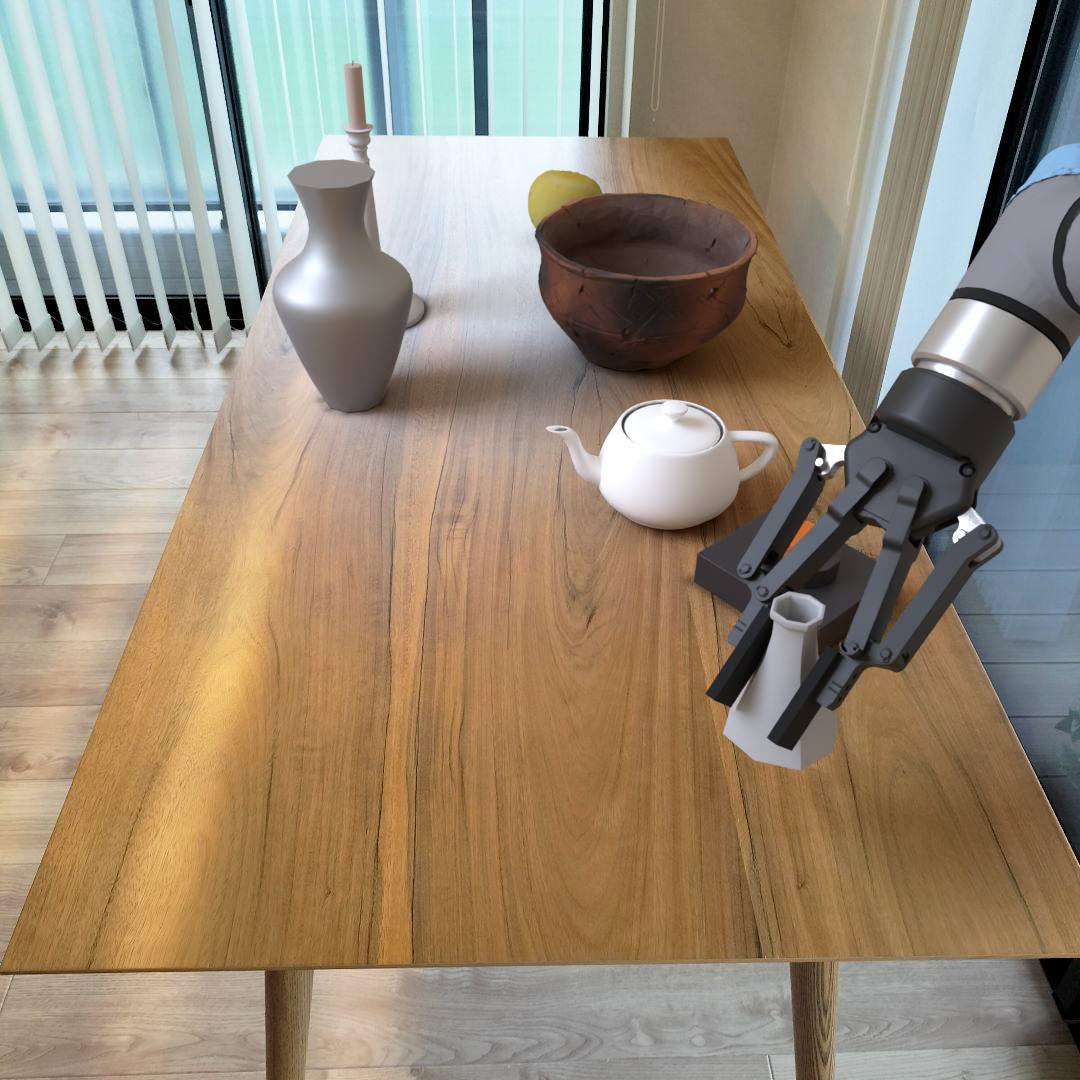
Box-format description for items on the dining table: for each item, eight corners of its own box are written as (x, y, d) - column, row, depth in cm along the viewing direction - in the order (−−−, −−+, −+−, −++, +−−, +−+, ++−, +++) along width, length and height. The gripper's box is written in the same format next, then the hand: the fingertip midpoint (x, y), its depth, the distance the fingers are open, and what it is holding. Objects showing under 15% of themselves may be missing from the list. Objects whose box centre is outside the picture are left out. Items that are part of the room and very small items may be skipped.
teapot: (753, 460, 111) (768, 367, 104) (784, 542, 100) (804, 443, 94) (540, 464, 110) (542, 370, 103) (548, 546, 99) (551, 447, 92)
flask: (703, 738, 69) (713, 616, 63) (757, 677, 74) (771, 558, 68) (807, 789, 65) (828, 664, 60) (857, 721, 70) (881, 599, 64)
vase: (403, 436, 114) (386, 203, 98) (270, 425, 115) (233, 193, 100) (431, 370, 125) (419, 152, 110) (309, 361, 126) (282, 144, 111)
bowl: (713, 421, 117) (731, 291, 108) (502, 379, 124) (502, 253, 114) (758, 325, 136) (777, 207, 127) (573, 293, 142) (577, 179, 133)
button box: (890, 601, 94) (902, 555, 91) (813, 658, 88) (824, 612, 85) (771, 532, 101) (779, 488, 98) (693, 581, 95) (699, 536, 92)
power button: (832, 551, 92) (836, 535, 91) (804, 571, 90) (807, 554, 88) (794, 530, 94) (798, 514, 93) (766, 548, 92) (768, 532, 91)
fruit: (608, 250, 154) (612, 180, 148) (534, 255, 152) (535, 184, 146) (592, 223, 162) (595, 156, 156) (522, 227, 160) (522, 160, 154)
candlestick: (335, 287, 142) (309, 44, 124) (431, 292, 142) (419, 48, 123) (311, 331, 132) (278, 73, 114) (414, 337, 132) (398, 78, 113)
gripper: (1107, 477, 62) (884, 812, 64) (859, 369, 72) (670, 660, 74) (1094, 429, 56) (847, 801, 57) (825, 318, 66) (619, 637, 68)
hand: (748, 721), depth 66 cm, fingers closed on flask, 4 cm apart
